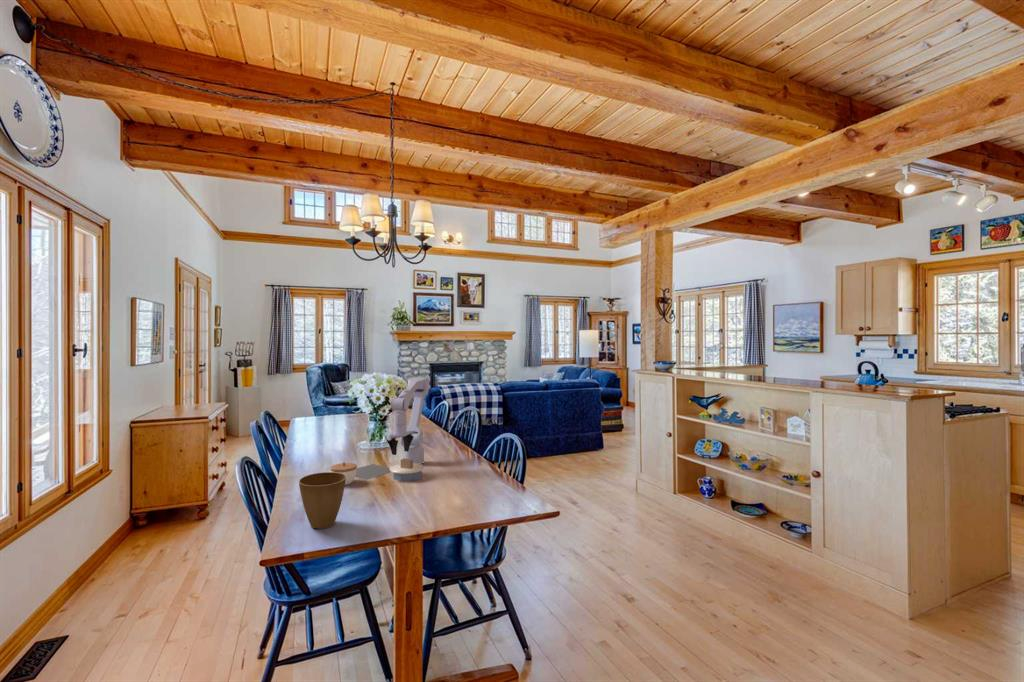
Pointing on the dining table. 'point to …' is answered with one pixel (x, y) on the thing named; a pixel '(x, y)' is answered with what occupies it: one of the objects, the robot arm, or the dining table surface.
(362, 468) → the mat
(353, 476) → the lidded jar
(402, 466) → the cover
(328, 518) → the plant pot
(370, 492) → the dining table surface
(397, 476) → the bowl
